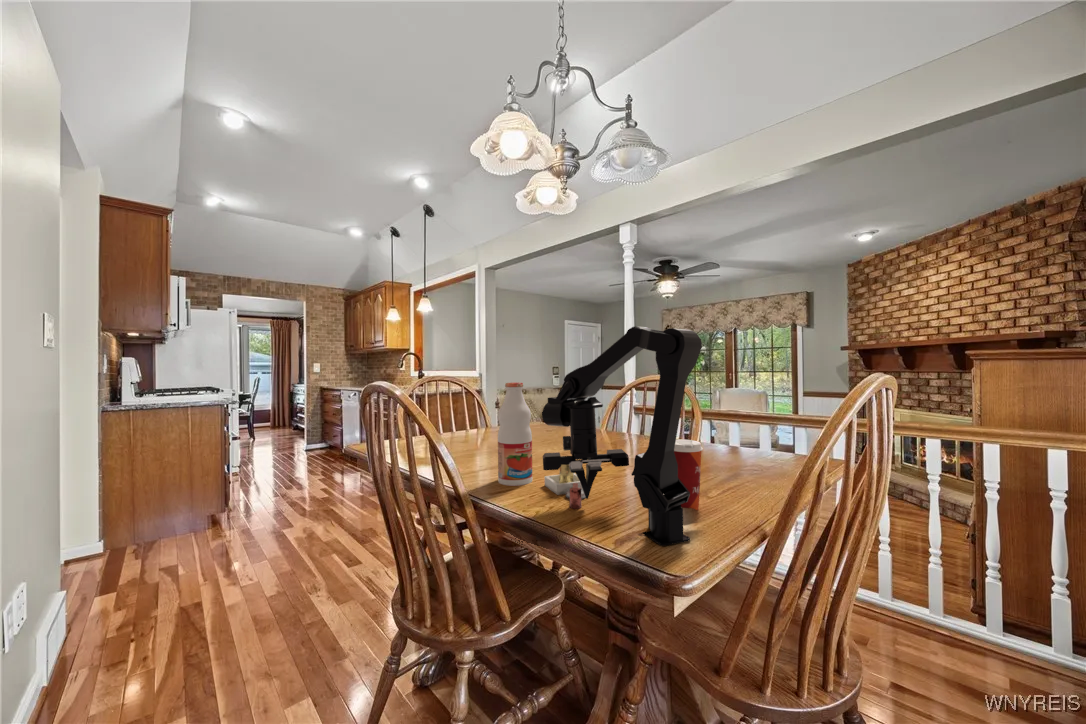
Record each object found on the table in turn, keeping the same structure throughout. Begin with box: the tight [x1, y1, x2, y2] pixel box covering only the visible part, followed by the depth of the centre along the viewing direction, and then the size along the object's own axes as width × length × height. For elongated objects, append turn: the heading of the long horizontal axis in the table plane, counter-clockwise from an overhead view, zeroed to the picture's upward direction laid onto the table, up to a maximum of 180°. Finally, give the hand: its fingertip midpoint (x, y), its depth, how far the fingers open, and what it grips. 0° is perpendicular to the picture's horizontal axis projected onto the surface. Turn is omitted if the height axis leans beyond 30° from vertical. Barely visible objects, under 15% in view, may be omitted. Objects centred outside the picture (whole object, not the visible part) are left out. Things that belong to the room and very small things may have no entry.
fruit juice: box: [497, 382, 533, 487], centre depth 117 cm, size 9×9×28 cm
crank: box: [565, 483, 586, 510], centre depth 99 cm, size 12×5×5 cm, turn 175°
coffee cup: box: [674, 438, 704, 511], centre depth 97 cm, size 8×8×15 cm
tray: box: [544, 473, 583, 496], centre depth 110 cm, size 8×8×2 cm
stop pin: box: [558, 464, 574, 484], centre depth 109 cm, size 4×4×7 cm
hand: (586, 498), depth 95 cm, fingers closed
